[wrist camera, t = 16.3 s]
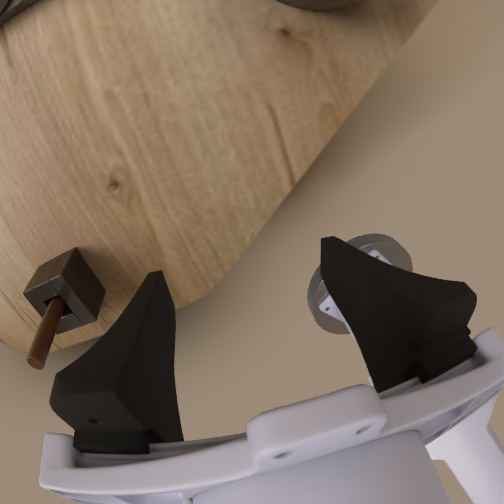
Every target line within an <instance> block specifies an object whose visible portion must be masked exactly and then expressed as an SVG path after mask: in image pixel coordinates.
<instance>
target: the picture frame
mask: <svg viewBox="0 0 504 504" xmlns="http://www.w3.org/2000/svg"><path fill="white" fill-rule="evenodd" d="M36 1H38V0H0V26H1V25H2V24H4V23H5V22H6V21H8V20H9V19H11V18H12V17H13V16H15V15H16V14H18V13H19V12H21V11H22V10H24V9H25V8H27V7H28V6H30V5H32V4H33V3H35V2H36Z"/></svg>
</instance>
